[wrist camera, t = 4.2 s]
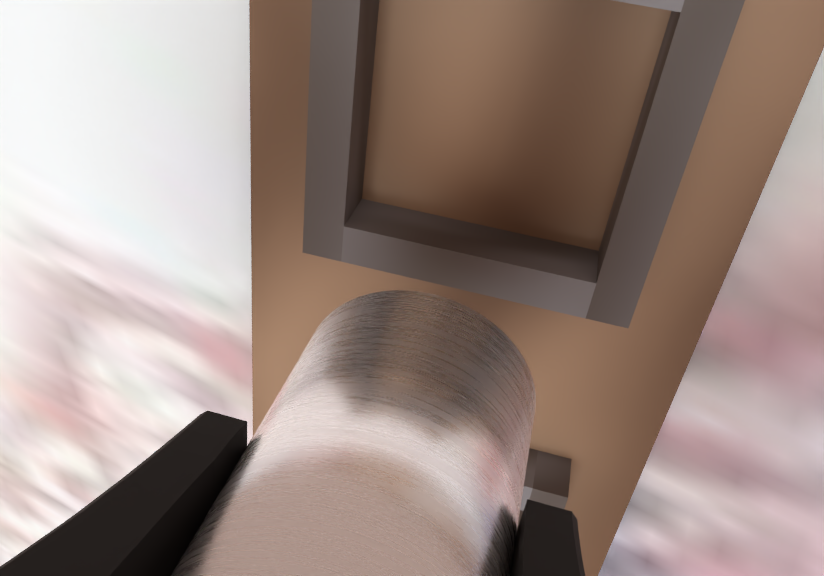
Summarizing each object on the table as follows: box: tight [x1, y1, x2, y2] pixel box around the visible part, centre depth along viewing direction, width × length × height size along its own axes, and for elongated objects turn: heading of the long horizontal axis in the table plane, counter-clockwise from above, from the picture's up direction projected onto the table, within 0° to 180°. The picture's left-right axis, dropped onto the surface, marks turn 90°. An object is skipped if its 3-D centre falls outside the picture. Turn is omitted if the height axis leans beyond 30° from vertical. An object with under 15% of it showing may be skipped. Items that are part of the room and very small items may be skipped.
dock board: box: [250, 0, 824, 576], centre depth 20 cm, size 12×28×2 cm, turn 173°
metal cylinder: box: [171, 290, 536, 576], centre depth 10 cm, size 4×4×8 cm
